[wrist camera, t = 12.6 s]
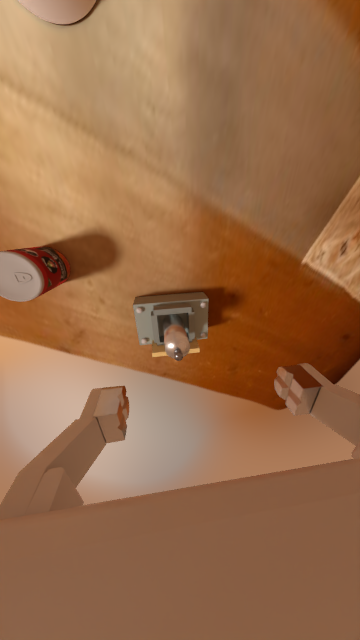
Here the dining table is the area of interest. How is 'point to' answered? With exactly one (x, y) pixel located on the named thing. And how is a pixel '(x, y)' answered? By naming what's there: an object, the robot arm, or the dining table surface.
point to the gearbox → (158, 307)
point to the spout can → (175, 337)
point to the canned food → (31, 272)
